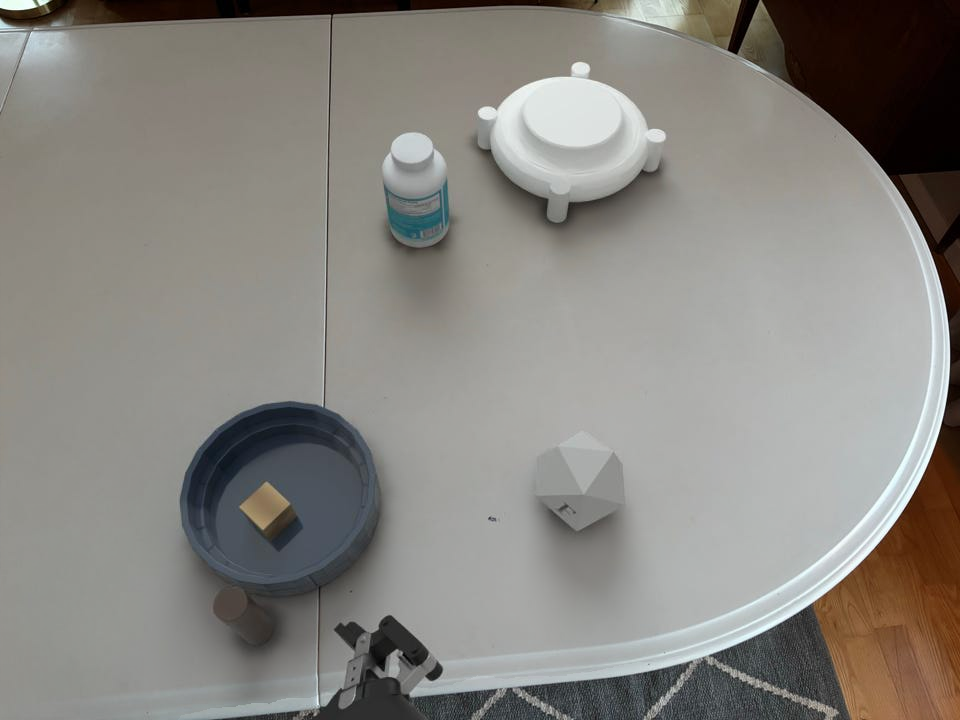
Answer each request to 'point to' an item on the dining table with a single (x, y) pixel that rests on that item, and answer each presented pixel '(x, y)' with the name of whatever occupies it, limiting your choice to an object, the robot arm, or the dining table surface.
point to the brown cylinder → (243, 616)
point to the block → (268, 511)
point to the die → (580, 480)
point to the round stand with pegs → (569, 139)
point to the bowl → (299, 479)
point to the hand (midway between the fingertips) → (300, 679)
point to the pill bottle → (416, 191)
